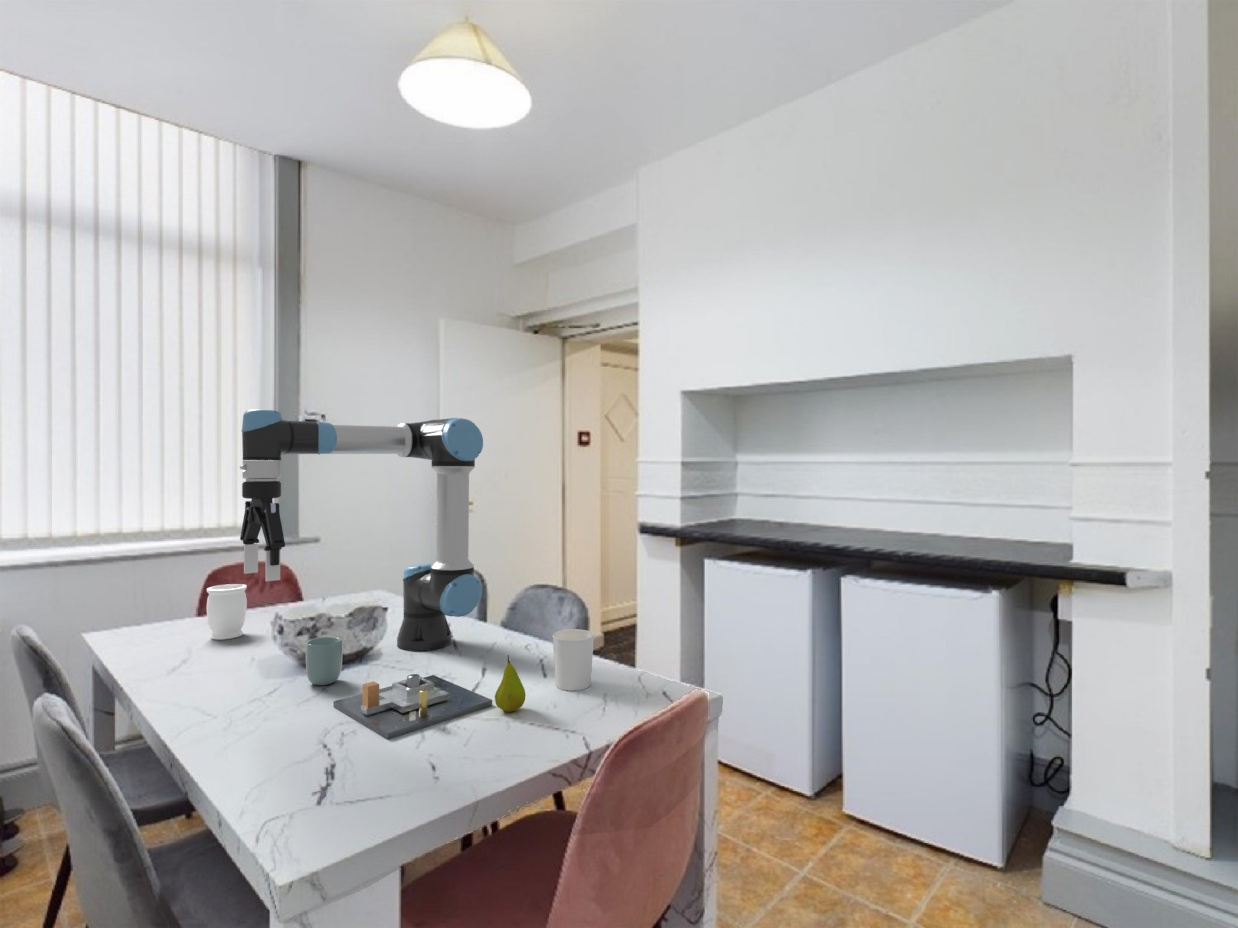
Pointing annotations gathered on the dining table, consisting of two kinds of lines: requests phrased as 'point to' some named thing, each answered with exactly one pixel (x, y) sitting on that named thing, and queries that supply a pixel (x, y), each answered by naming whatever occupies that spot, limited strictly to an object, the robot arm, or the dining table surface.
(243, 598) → the jar
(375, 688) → the grey metal fixture
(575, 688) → the white tumbler
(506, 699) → the fruit
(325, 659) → the cup
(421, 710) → the dowel
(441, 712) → the base
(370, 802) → the dining table surface
